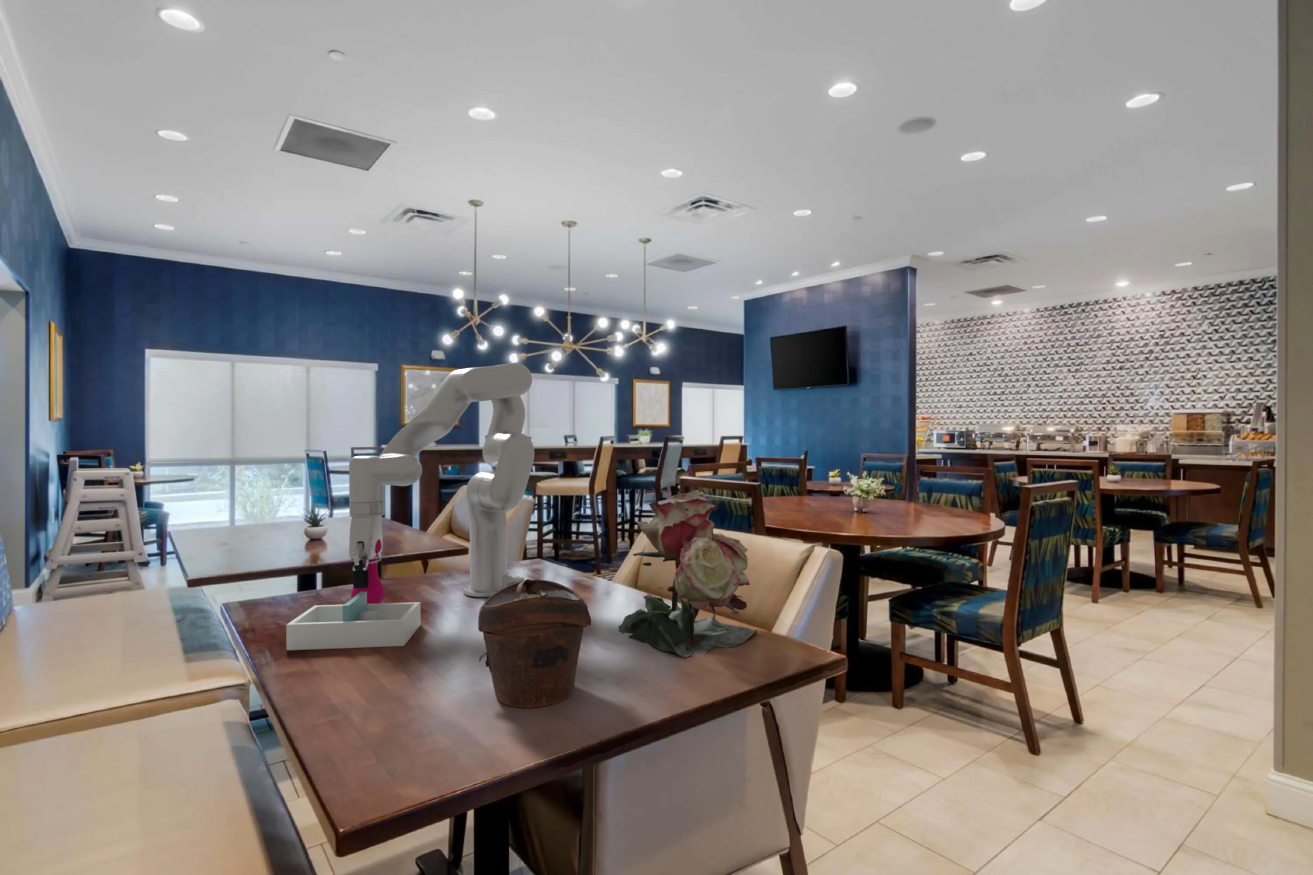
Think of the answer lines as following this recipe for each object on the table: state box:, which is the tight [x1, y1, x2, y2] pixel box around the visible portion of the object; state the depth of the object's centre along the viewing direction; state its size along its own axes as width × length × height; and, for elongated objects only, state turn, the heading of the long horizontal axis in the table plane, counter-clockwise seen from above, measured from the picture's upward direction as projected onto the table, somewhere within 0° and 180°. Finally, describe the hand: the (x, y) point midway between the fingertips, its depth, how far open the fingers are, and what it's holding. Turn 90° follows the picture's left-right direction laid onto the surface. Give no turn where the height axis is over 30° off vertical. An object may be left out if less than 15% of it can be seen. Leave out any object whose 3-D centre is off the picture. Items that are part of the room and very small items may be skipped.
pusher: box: [342, 592, 378, 621], centre depth 138 cm, size 5×11×7 cm, turn 7°
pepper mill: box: [350, 539, 386, 604], centre depth 154 cm, size 7×7×20 cm
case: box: [477, 578, 592, 709], centre depth 109 cm, size 18×20×18 cm
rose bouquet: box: [605, 489, 758, 659], centre depth 139 cm, size 26×29×30 cm
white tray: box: [285, 601, 421, 651], centre depth 137 cm, size 22×14×5 cm, turn 97°
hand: (367, 582), depth 154 cm, fingers open, 9 cm apart
